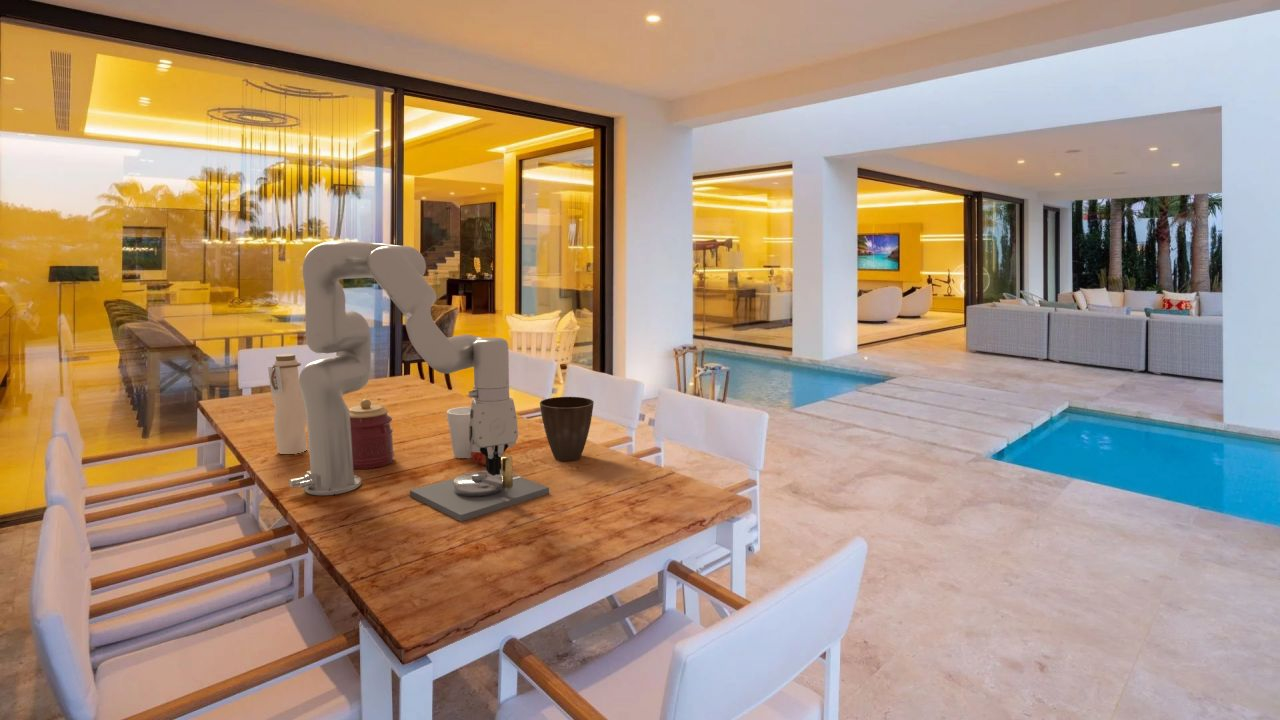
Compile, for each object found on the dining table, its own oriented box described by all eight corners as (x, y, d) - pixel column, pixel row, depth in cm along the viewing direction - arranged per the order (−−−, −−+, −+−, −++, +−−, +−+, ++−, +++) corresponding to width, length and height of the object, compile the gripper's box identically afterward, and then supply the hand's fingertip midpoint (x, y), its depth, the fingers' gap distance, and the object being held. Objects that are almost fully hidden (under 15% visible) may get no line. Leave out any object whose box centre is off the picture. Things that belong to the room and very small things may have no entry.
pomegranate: (467, 474, 182) (484, 458, 176) (460, 449, 185) (476, 433, 179) (491, 471, 187) (508, 456, 181) (483, 447, 190) (501, 431, 184)
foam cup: (462, 462, 185) (460, 416, 183) (441, 456, 191) (439, 411, 189) (489, 454, 193) (488, 409, 191) (468, 448, 198) (466, 405, 196)
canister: (404, 460, 187) (401, 397, 184) (364, 473, 176) (360, 406, 173) (373, 452, 193) (370, 392, 191) (332, 464, 182) (328, 400, 180)
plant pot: (535, 452, 195) (534, 398, 192) (585, 447, 200) (585, 394, 197) (547, 467, 181) (546, 409, 178) (600, 462, 186) (600, 405, 184)
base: (462, 522, 144) (461, 514, 144) (410, 496, 159) (409, 489, 159) (550, 493, 161) (550, 487, 161) (495, 472, 177) (495, 466, 176)
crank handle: (442, 489, 158) (441, 452, 157) (480, 476, 168) (479, 441, 167) (492, 504, 150) (491, 464, 148) (529, 488, 160) (528, 451, 158)
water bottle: (298, 457, 189) (290, 358, 184) (266, 457, 189) (258, 358, 184) (316, 447, 199) (309, 353, 194) (286, 446, 199) (278, 352, 194)
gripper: (466, 401, 142) (468, 484, 145) (530, 392, 151) (531, 472, 154) (452, 394, 148) (455, 475, 151) (515, 387, 157) (516, 463, 160)
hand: (493, 473), depth 152 cm, fingers closed
